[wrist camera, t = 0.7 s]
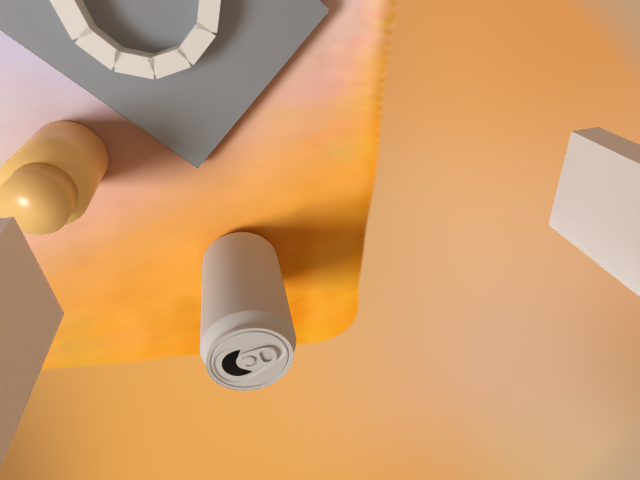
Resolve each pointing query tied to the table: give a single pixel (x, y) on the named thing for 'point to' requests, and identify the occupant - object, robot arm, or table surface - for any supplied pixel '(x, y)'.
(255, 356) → the beverage can
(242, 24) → the collar board
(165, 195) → the table surface
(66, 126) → the nesting doll
